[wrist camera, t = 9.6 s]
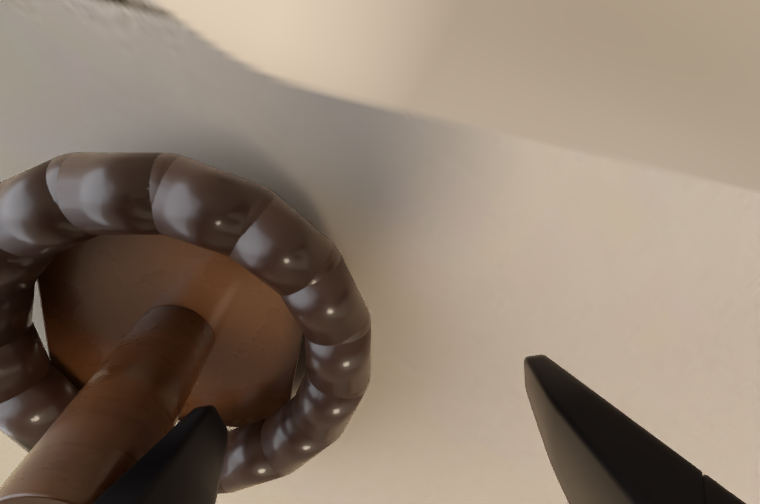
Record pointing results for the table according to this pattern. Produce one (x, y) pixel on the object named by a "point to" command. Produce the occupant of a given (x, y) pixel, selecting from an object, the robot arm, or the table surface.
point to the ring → (204, 229)
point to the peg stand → (149, 356)
